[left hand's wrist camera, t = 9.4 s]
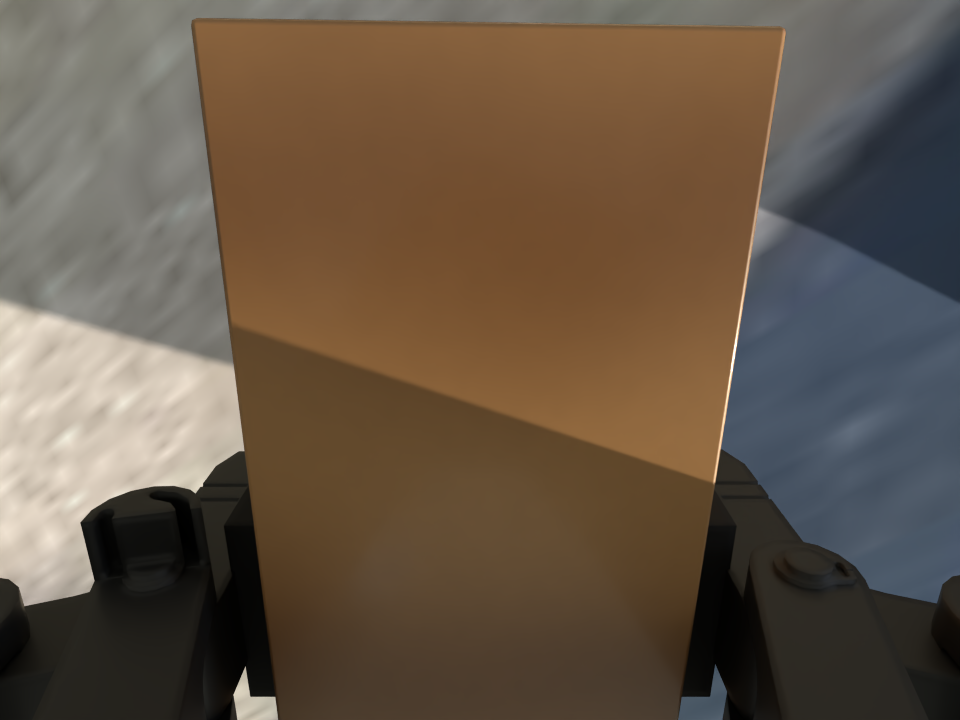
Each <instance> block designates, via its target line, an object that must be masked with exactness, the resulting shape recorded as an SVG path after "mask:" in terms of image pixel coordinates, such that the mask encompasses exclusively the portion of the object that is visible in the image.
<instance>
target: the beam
mask: <svg viewBox="0 0 960 720" xmlns="http://www.w3.org/2000/svg"><path fill="white" fill-rule="evenodd" d="M191 27H192V35H193V43H194V51H195V59H196V67H197V75H198V83H199V91H200V99H201V107H202V115H203V123H204V131H205V139H206V147H207V155H208V163H209V171H210V179H211V187H212V195H213V203H214V211H215V219H216V227H217V235H218V243H219V251H220V259H221V267H222V275H223V283H224V291H225V299H226V306H227V314H228V322H229V330H230V338H231V346H232V354H233V362H234V370H235V378H236V386H237V394H238V402H239V410H240V418H241V426H242V434H243V442H244V450H245V458H246V466H247V474H248V482H249V490H250V498H251V506H252V514H253V522H254V530H255V538H256V546H257V554H258V562H259V570H260V578H261V586H262V594H263V602H264V610H265V617H266V625H267V633H268V641H269V649H270V657H271V665H272V673H273V681H274V689H275V697H276V705H277V713H278V720H678V717H679V710H680V704H681V697H682V691H683V685H684V678H685V672H686V666H687V659H688V653H689V646H690V640H691V634H692V627H693V621H694V615H695V608H696V602H697V596H698V589H699V583H700V576H701V570H702V564H703V557H704V551H705V545H706V538H707V532H708V525H709V519H710V513H711V506H712V500H713V494H714V487H715V481H716V475H717V468H718V462H719V455H720V449H721V443H722V436H723V430H724V424H725V417H726V411H727V404H728V398H729V392H730V385H731V379H732V373H733V366H734V360H735V354H736V347H737V341H738V334H739V328H740V322H741V315H742V309H743V303H744V296H745V290H746V283H747V277H748V271H749V264H750V258H751V252H752V245H753V239H754V233H755V226H756V220H757V213H758V207H759V201H760V194H761V188H762V182H763V175H764V169H765V162H766V156H767V150H768V143H769V137H770V131H771V124H772V118H773V112H774V105H775V99H776V92H777V86H778V80H779V73H780V67H781V61H782V54H783V48H784V41H785V35H786V32H785V29H784V28H782V27H780V26H717V25H647V24H577V23H508V22H438V21H368V20H299V19H229V18H196V19H194V20H192V24H191Z"/></svg>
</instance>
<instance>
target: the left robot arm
mask: <svg viewBox="0 0 960 720" xmlns="http://www.w3.org/2000/svg"><path fill="white" fill-rule="evenodd" d="M81 527H82V531H83V535H84V539H85V543H86V547H87V551H88V555H89V559H90V564H91V568H92V572H93V576H94V580H95V581H94V584H93V586H92V588H91V590H90V592H88V593H84V594H81V595H77V596H73V597H68V598H63V599H58V600H53V601H48V602H43V603H39V604H34V605H29V606H24V604H23V600H22V597H21V593H20V590H19V587H18V586H16V585H15V584H14V583H13V582H11V581H10V580H9V579H3V578H0V720H237V715H236V708H235V702H234V696H233V694H234V692H235V690H236V687H237V685H238V682H239V680H240V678H241V675H242V673H243V671H244V668H245V666H246V671H247V678H248V684H249V690H250V697H275V689H274V681H273V673H272V665H271V657H270V649H269V641H268V633H267V625H266V617H265V610H264V602H263V594H262V586H261V578H260V570H259V562H258V554H257V546H256V538H255V530H254V522H253V514H252V506H251V498H250V490H249V482H248V474H247V466H246V458H245V451H239V452H237V453H236V454H234V455H233V456H231V457H230V458H228V459H226V460H225V461H223V462H222V463H220V464H219V465H217V466H216V467H215V468H214V470H213V471H212V472H211V474H210V475H209V476H208V478H207V479H206V480H205V482H204V483H203V487H200V488H199V490H198V491H197V492H196V494H195V493H194V492H193V491H191V490H189V489H185V488H180V487H176V486H155V487H149V488H144V489H139V490H134V491H130V492H127V493H125V494H122V495H119V496H117V497H114V498H111V499H109V500H107V501H106V502H104V503H103V504H101V505H99V506H98V507H96V508H94V509H93V510H91V511H90V513H89V514H88V515H87V516H86V517H85V518H84V519H83V520H82V521H81ZM715 664H716V666H717V669H718V671H719V673H720V676H721V678H722V680H723V683H724V685H725V687H726V690H727V696H726V702H725V708H724V714H723V720H960V575H959V576H953V577H951V578H950V579H949V580H948V581H946V582H945V583H944V584H943V585H942V589H941V592H940V595H939V599H938V602H937V604H936V603H931V602H926V601H921V600H917V599H912V598H907V597H902V596H897V595H892V594H887V593H883V592H880V591H876V590H872V589H869V587H868V585H867V583H866V580H865V579H864V578H863V576H862V575H861V574H860V572H859V571H858V570H857V568H856V567H855V566H854V565H852V564H851V563H849V562H848V561H847V560H845V559H844V558H842V557H841V556H840V555H838V554H836V553H834V552H831V551H829V550H827V549H825V548H822V547H820V546H818V545H814V544H809V543H805V542H803V541H802V540H801V538H800V537H799V536H798V534H797V533H796V532H795V530H794V529H793V528H792V526H791V525H790V524H789V522H788V521H787V520H786V518H785V517H784V516H783V514H782V513H781V512H780V510H779V509H778V508H777V506H776V505H775V504H774V502H773V501H772V500H771V499H769V498H768V494H767V493H766V492H765V490H764V489H763V488H762V486H761V485H758V481H757V480H756V478H755V477H754V476H753V474H752V473H751V472H750V470H749V469H748V468H747V466H746V465H745V464H744V463H742V462H741V461H739V460H738V459H736V458H734V457H733V456H731V455H730V454H728V453H727V452H725V451H724V450H722V449H720V455H719V462H718V468H717V475H716V481H715V487H714V494H713V500H712V506H711V513H710V519H709V525H708V532H707V538H706V545H705V551H704V557H703V564H702V570H701V576H700V583H699V589H698V596H697V602H696V608H695V615H694V621H693V627H692V634H691V640H690V646H689V653H688V659H687V666H686V672H685V678H684V685H683V691H682V697H710V693H711V687H712V680H713V674H714V668H715Z"/></svg>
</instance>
